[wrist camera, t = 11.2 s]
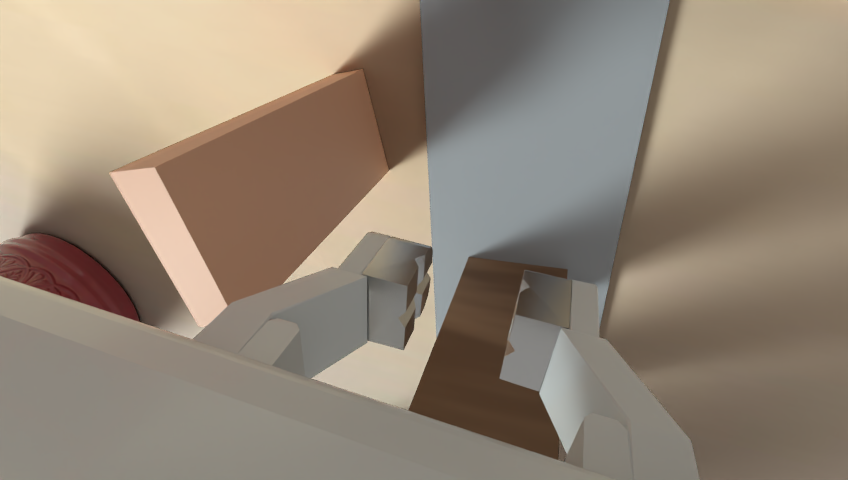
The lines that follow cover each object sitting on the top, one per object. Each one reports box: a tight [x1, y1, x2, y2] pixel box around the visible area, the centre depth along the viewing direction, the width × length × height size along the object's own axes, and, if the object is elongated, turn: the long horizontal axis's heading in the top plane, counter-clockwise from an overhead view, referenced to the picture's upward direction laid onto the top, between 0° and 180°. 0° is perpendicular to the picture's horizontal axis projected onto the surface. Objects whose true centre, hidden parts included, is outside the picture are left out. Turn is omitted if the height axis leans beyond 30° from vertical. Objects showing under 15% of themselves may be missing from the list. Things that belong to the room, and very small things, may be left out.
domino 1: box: [109, 69, 389, 327], centre depth 16 cm, size 2×5×12 cm, turn 12°
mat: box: [420, 0, 670, 337], centre depth 19 cm, size 36×9×1 cm, turn 3°
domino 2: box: [409, 257, 568, 460], centre depth 18 cm, size 2×5×12 cm, turn 93°
